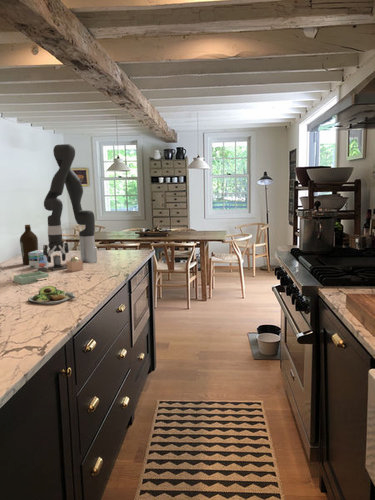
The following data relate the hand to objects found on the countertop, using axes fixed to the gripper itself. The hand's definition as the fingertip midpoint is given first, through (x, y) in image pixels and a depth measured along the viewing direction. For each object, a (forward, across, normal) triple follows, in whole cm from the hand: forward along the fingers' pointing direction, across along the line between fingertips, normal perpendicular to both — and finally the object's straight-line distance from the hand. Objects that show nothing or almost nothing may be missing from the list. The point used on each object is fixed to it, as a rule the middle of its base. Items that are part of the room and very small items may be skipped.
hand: (56, 261), depth 222 cm
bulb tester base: (+6, -4, 0) cm, 7 cm away
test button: (+2, -9, 0) cm, 9 cm away
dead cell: (+5, +5, -11) cm, 13 cm away
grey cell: (+4, 0, 0) cm, 4 cm away
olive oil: (+6, +1, +37) cm, 38 cm away
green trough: (+6, -20, -10) cm, 23 cm away
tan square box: (+6, +5, -11) cm, 13 cm away
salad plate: (+7, -29, -51) cm, 59 cm away
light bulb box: (+6, -4, +15) cm, 17 cm away
